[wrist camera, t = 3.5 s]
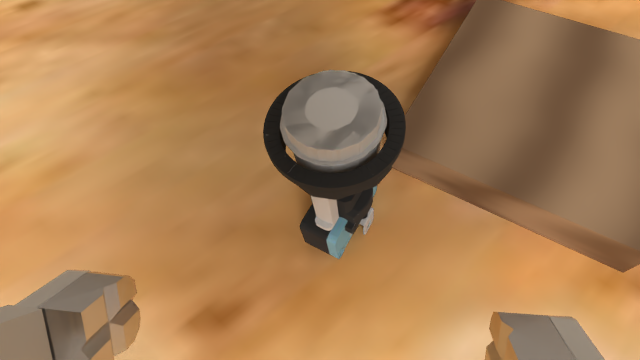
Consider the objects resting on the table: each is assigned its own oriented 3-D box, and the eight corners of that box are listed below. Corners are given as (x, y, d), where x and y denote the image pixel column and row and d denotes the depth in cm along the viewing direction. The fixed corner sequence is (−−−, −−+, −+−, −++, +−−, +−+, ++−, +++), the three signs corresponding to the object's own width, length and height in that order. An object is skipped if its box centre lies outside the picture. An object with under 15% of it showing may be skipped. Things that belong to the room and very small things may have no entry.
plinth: (386, 165, 25) (388, 141, 23) (471, 24, 29) (480, -6, 27) (622, 272, 21) (653, 257, 18) (679, 89, 25) (708, 59, 23)
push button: (337, 146, 26) (321, 14, 17) (417, 180, 24) (446, 53, 15) (280, 237, 23) (228, 137, 15) (366, 281, 22) (365, 199, 13)
